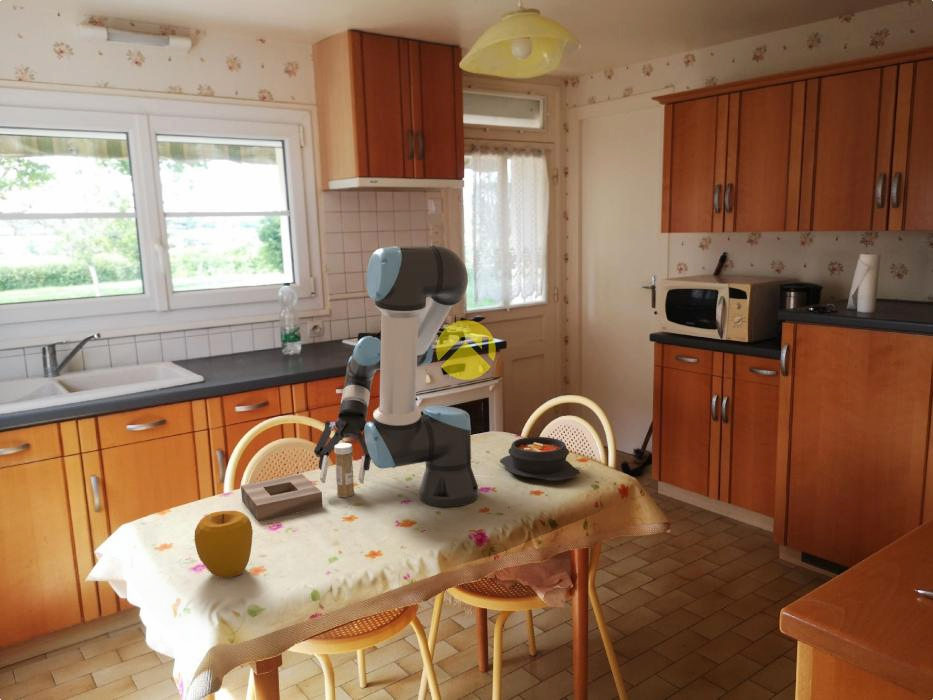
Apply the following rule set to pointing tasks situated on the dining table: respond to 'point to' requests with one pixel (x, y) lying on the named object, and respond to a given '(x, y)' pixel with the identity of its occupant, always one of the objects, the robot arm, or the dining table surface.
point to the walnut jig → (281, 497)
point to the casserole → (539, 459)
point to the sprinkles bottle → (344, 469)
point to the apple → (224, 542)
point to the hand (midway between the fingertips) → (341, 480)
